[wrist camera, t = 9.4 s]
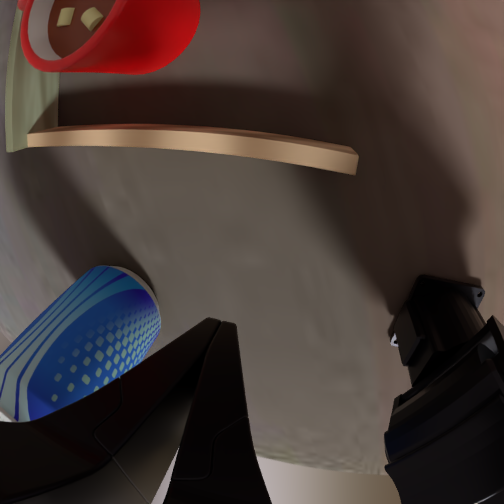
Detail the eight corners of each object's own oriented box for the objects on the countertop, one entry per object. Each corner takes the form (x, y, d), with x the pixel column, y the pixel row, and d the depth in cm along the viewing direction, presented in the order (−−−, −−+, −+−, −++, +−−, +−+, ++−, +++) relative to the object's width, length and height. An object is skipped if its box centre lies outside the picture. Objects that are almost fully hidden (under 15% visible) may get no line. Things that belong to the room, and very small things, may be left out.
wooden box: (369, -73, 9) (380, -111, 4) (347, 163, 17) (359, 182, 13) (74, -43, 12) (35, -55, 7) (50, 138, 20) (6, 152, 15)
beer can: (82, 251, 24) (-45, 366, 10) (162, 266, 23) (32, 432, 9) (100, 323, 28) (11, 437, 14) (171, 343, 27) (92, 489, 13)
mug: (89, -27, 13) (19, -46, 6) (220, -17, 13) (165, -71, 6) (55, 57, 16) (-21, 61, 10) (172, 87, 17) (93, 85, 10)
